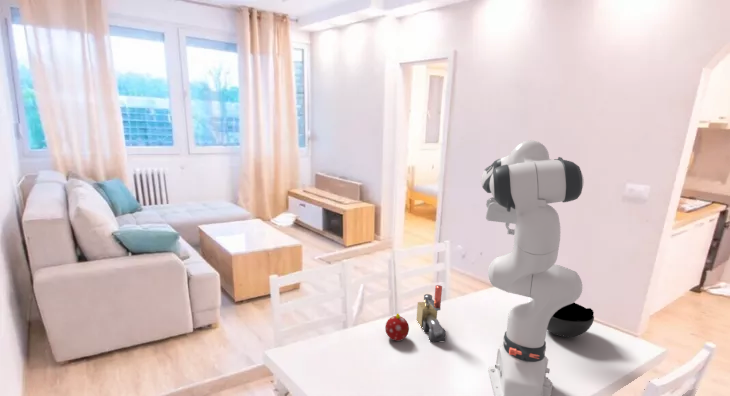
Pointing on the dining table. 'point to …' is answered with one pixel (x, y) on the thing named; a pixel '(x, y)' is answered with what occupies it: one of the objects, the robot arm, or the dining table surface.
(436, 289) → the lever
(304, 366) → the dining table surface
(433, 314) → the valve
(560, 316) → the bowl of black rocks
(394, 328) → the christmas ornament
